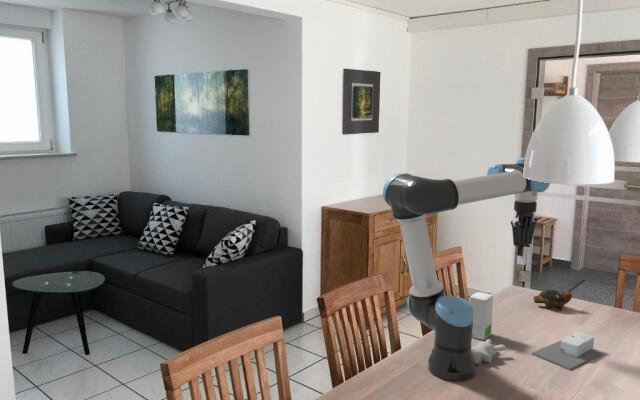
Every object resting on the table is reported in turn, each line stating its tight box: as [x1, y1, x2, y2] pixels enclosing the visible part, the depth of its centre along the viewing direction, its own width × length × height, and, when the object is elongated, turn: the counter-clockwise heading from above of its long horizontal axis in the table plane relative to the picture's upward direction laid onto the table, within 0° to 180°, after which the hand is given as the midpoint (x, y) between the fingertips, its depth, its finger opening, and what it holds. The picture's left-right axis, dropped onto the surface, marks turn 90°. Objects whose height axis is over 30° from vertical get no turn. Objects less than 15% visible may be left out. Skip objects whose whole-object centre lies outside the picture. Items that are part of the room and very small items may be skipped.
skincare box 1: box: [469, 291, 494, 341], centre depth 201 cm, size 8×7×16 cm
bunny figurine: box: [471, 338, 507, 366], centre depth 183 cm, size 10×5×15 cm
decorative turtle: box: [532, 289, 573, 312], centre depth 230 cm, size 10×15×8 cm, turn 77°
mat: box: [531, 338, 603, 371], centre depth 186 cm, size 20×14×1 cm
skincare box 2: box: [560, 331, 595, 357], centre depth 188 cm, size 6×4×12 cm
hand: (521, 263), depth 196 cm, fingers closed
